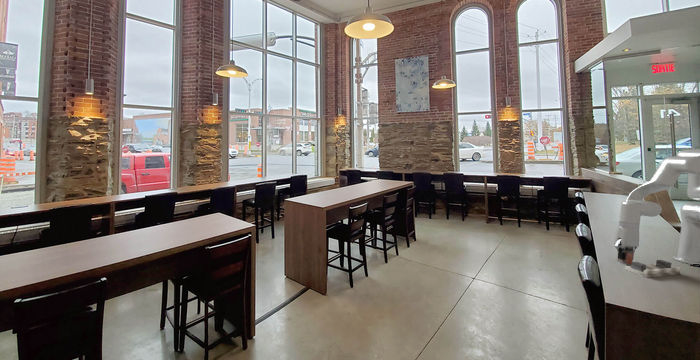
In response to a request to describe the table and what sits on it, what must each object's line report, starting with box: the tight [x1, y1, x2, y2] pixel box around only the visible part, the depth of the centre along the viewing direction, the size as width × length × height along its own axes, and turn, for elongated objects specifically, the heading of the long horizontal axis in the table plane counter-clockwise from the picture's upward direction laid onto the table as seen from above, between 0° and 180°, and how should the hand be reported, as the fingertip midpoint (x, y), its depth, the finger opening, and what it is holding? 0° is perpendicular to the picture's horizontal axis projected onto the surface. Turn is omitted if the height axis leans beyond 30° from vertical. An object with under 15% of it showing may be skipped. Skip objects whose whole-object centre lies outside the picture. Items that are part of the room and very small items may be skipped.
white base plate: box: [624, 259, 682, 278], centre depth 138 cm, size 20×9×4 cm, turn 99°
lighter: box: [617, 247, 635, 266], centre depth 148 cm, size 8×3×10 cm, turn 168°
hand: (625, 258), depth 148 cm, fingers closed on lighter, 4 cm apart
